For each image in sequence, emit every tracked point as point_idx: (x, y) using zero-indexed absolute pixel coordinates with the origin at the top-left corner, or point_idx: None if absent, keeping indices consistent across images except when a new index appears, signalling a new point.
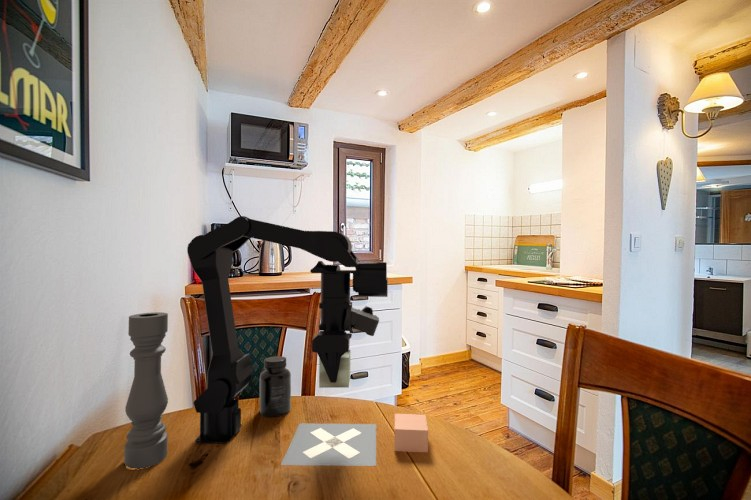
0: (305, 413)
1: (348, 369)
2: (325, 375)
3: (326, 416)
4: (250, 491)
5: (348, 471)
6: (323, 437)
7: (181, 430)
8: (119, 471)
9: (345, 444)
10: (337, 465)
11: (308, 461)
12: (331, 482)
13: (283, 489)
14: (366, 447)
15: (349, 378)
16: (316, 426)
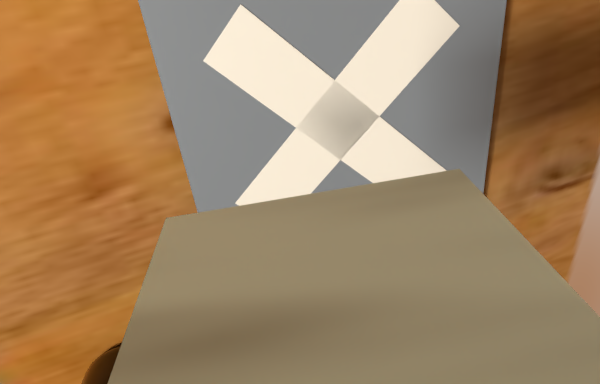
0: (117, 291)
1: (580, 299)
2: None
3: (111, 210)
4: (565, 265)
5: (519, 11)
6: (306, 171)
7: None
8: None
9: (352, 66)
10: (498, 64)
11: (465, 173)
12: (571, 63)
13: (574, 195)
14: None
15: (317, 212)
16: None
